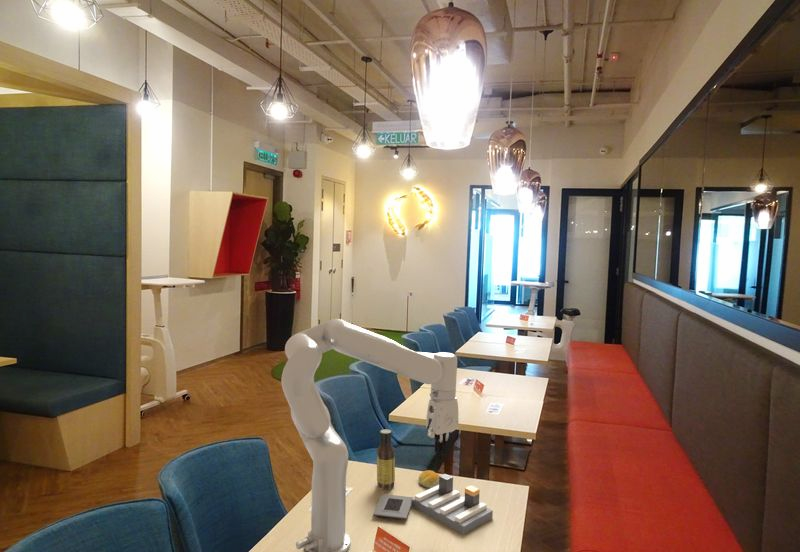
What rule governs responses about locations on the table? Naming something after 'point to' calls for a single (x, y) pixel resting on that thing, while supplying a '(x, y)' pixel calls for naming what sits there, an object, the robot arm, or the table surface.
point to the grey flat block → (393, 506)
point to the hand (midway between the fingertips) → (440, 453)
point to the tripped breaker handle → (471, 496)
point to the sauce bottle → (385, 461)
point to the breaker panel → (451, 509)
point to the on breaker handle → (445, 484)
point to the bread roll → (429, 479)
